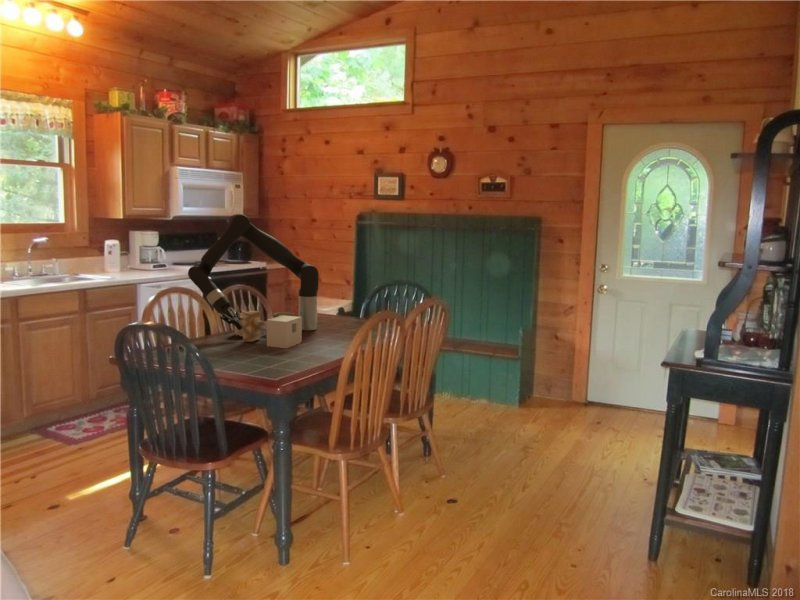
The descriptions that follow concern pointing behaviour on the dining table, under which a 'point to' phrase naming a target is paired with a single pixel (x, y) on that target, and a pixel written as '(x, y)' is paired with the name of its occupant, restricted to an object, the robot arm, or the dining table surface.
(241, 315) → the teacup with lid
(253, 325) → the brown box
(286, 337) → the cardboard box
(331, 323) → the dining table surface
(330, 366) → the dining table surface
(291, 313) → the coffee mug
